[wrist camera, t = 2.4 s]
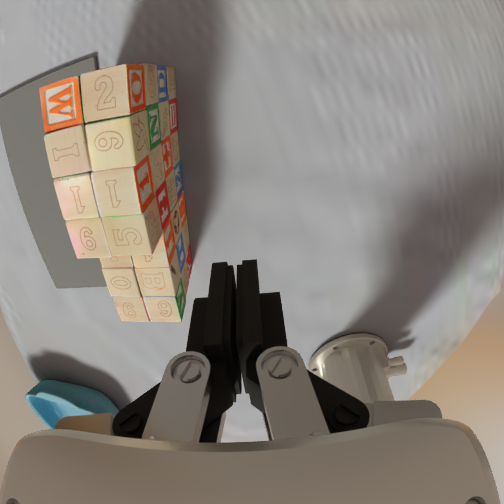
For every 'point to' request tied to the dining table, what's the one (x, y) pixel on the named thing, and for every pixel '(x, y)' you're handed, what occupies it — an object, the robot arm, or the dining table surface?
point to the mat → (44, 180)
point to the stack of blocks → (123, 183)
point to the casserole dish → (66, 401)
